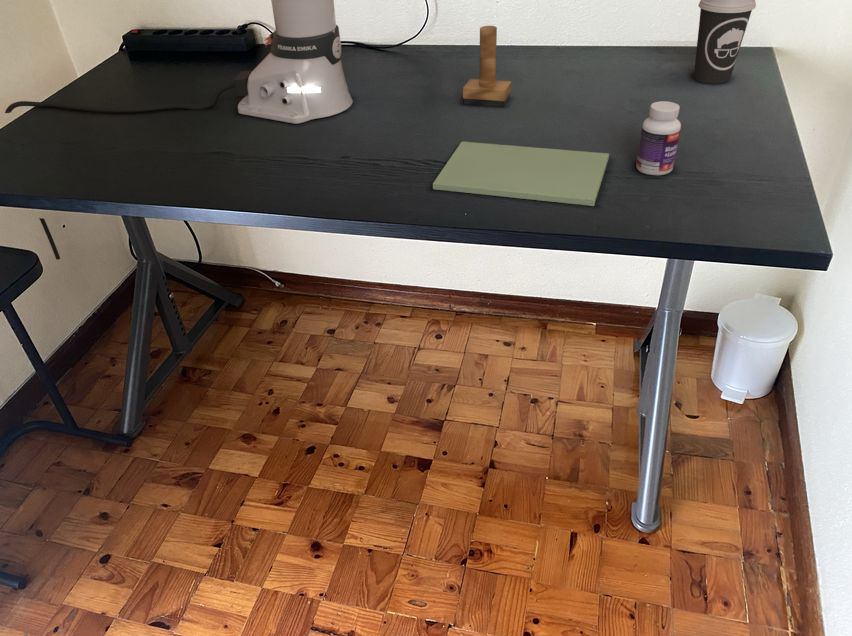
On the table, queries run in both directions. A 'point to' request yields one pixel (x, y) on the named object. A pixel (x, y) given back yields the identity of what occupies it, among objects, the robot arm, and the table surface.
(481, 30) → the scrub brush
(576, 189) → the mat
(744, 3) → the coffee cup
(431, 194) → the table surface
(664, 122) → the pill bottle
